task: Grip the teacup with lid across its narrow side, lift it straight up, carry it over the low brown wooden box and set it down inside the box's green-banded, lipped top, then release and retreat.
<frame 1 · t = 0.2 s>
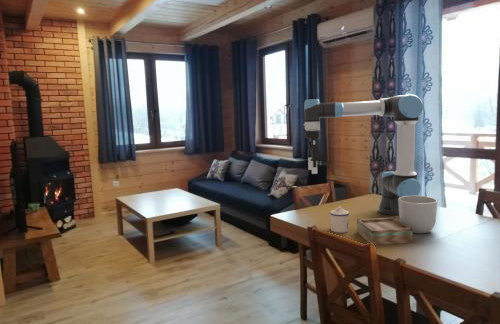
hand: (312, 171, 193), 27 cm above the table, fingers open, 13 cm apart
planter: (417, 231, 179), on the table
brown wooden box: (383, 237, 171), on the table
teacup with lid: (338, 229, 185), on the table
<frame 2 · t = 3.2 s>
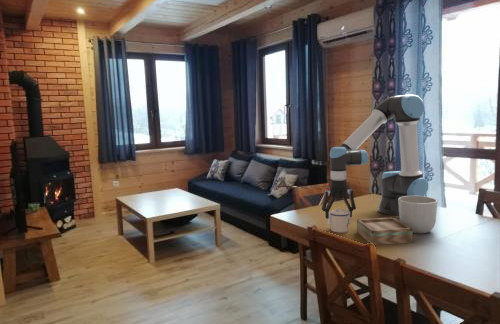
hand: (338, 224, 185), 3 cm above the table, fingers closed on teacup with lid, 9 cm apart
teacup with lid: (338, 229, 185), on the table, touching gripper
everything else where it was.
when the fingers open (8 cm above the table, at t = 8.8 s): teacup with lid stays where it is, resting on brown wooden box.
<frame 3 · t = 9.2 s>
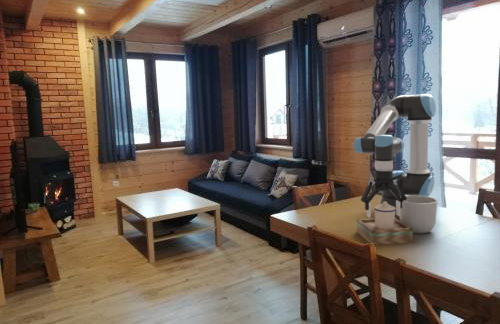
hand: (383, 216, 170), 10 cm above the table, fingers open, 13 cm apart
teacup with lid: (383, 226, 171), point 5 cm above the table, touching brown wooden box
everything else where it was.
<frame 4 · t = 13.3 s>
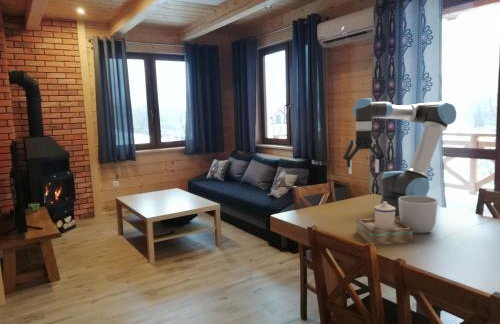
hand: (363, 173, 187), 27 cm above the table, fingers open, 13 cm apart
nothing on the table moved.
at the end: teacup with lid inside the target area on the brown wooden box (0.0 cm from its centre), point 4.8 cm above the brown wooden box's base; teacup with lid tilted 0°; the gripper is holding nothing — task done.
